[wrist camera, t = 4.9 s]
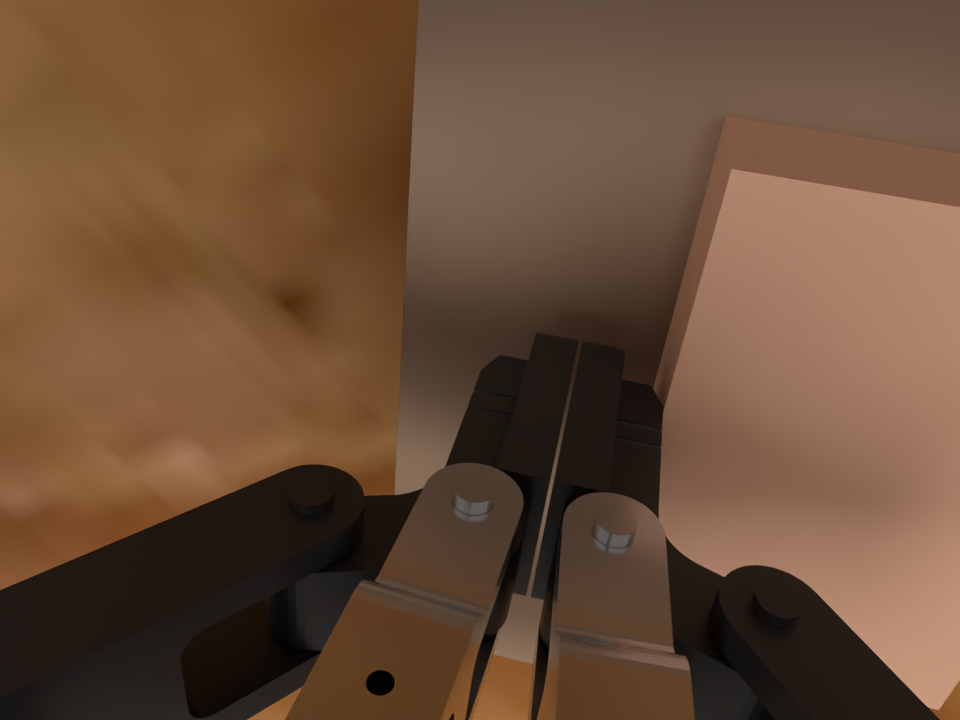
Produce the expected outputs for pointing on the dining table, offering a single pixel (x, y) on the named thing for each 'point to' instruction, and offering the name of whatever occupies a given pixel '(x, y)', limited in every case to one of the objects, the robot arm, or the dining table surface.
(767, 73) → the deck
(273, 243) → the dining table surface
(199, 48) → the dining table surface
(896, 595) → the pink rectangular block
